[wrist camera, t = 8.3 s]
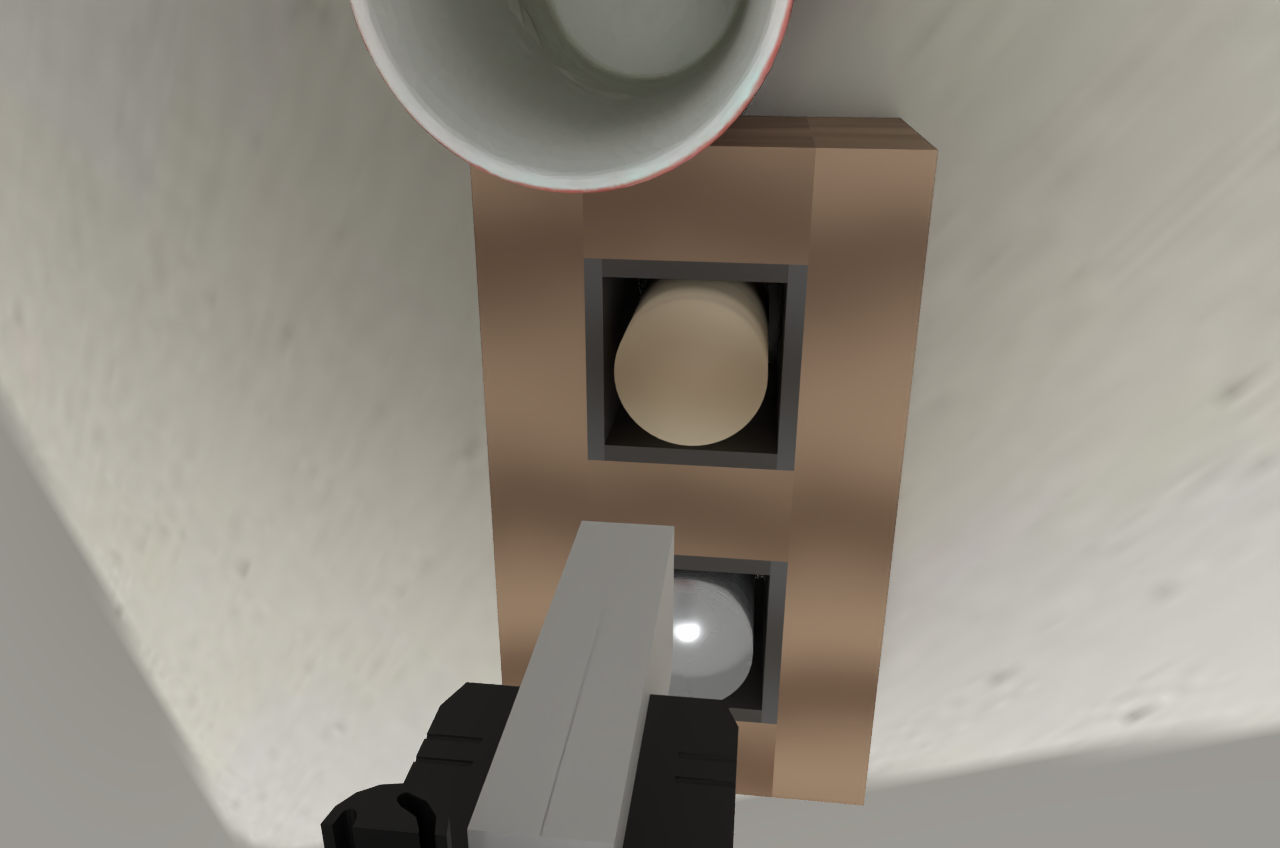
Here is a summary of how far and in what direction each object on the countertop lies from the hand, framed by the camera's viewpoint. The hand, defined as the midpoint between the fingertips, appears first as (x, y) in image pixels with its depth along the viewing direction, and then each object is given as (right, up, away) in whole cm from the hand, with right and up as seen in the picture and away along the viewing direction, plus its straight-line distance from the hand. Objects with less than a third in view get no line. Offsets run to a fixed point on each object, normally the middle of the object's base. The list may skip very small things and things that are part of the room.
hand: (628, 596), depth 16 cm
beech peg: (+3, +7, +18) cm, 20 cm away
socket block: (+3, +3, +20) cm, 21 cm away
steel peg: (+3, -1, +22) cm, 22 cm away
